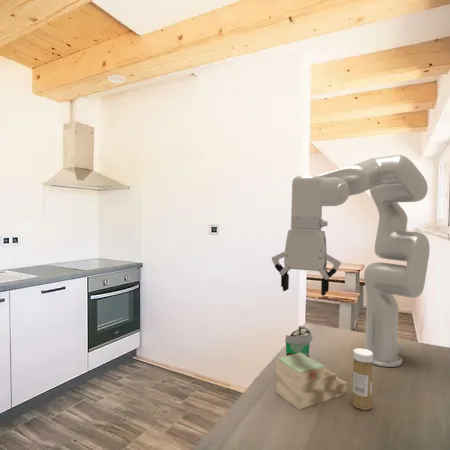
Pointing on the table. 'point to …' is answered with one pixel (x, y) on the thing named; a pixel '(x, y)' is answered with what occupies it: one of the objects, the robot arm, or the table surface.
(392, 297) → the robot arm
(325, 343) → the table surface
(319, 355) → the table surface
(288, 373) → the step stand
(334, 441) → the table surface
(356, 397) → the spice jar
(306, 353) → the food container
